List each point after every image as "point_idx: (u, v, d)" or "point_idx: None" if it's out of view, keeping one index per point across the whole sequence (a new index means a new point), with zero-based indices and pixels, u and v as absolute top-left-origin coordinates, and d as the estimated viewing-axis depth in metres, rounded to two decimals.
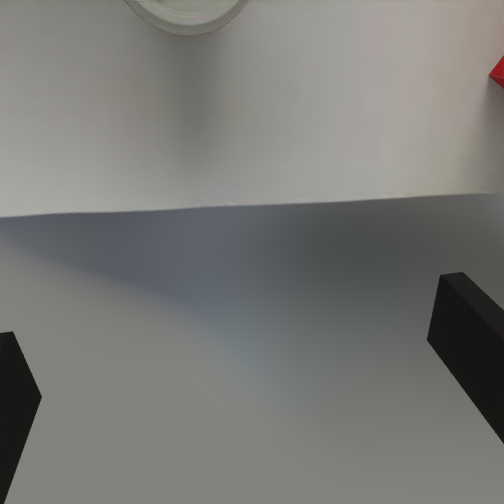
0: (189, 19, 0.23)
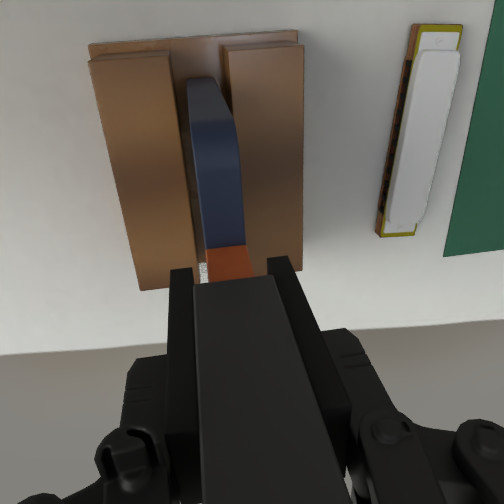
0: None
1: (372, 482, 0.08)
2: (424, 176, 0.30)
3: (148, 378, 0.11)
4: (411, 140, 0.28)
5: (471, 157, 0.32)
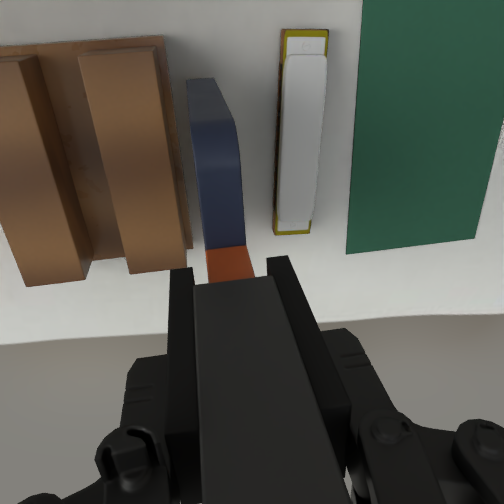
0: None
1: (372, 482, 0.08)
2: (307, 176, 0.31)
3: (148, 378, 0.11)
4: (289, 141, 0.29)
5: (360, 157, 0.33)
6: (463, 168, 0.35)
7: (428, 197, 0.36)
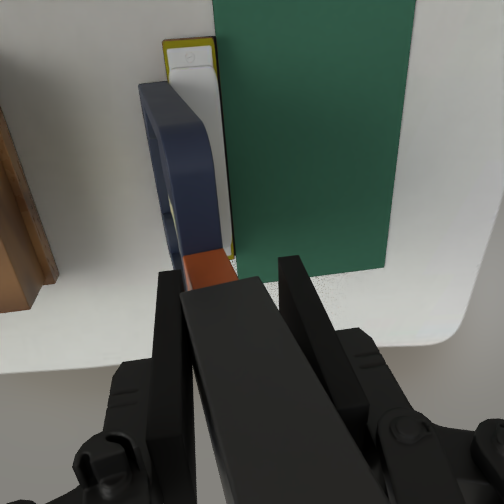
0: None
1: (390, 480, 0.08)
2: None
3: (133, 382, 0.11)
4: None
5: (237, 182, 0.29)
6: (360, 193, 0.31)
7: (324, 224, 0.32)
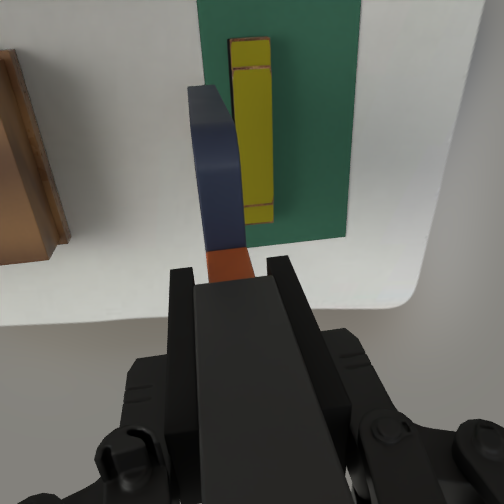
0: None
1: (372, 482, 0.08)
2: None
3: (148, 378, 0.11)
4: None
5: None
6: (322, 171, 0.37)
7: (292, 197, 0.38)
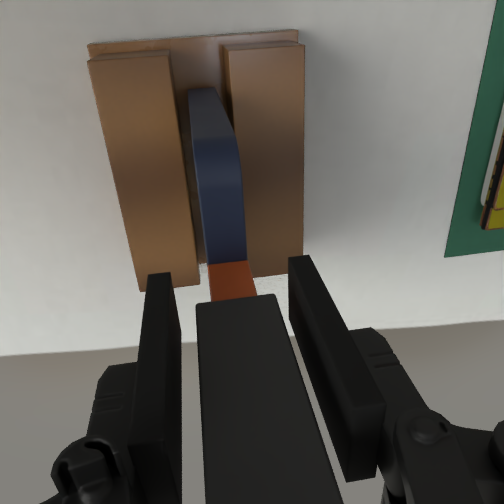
0: None
1: (408, 480, 0.08)
2: None
3: (119, 386, 0.11)
4: None
5: (472, 157, 0.32)
6: None
7: None
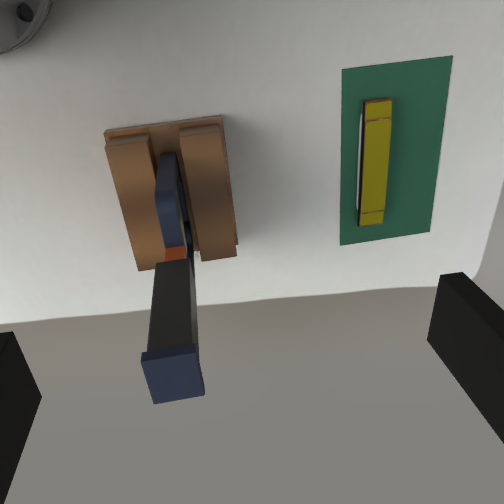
0: None
1: None
2: None
3: None
4: None
5: (345, 181, 0.50)
6: (416, 185, 0.52)
7: (393, 204, 0.53)
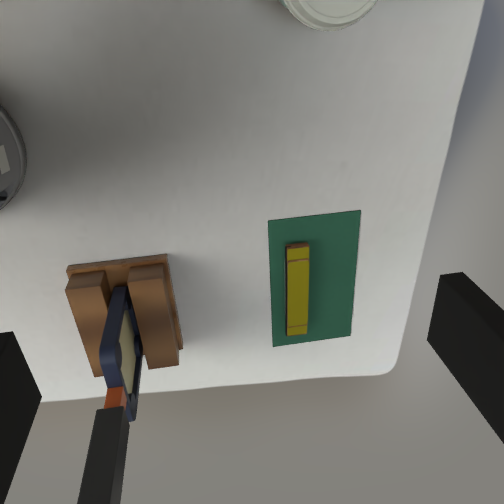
0: None
1: None
2: None
3: None
4: None
5: (275, 299, 0.59)
6: (336, 301, 0.61)
7: (318, 316, 0.62)
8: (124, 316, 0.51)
